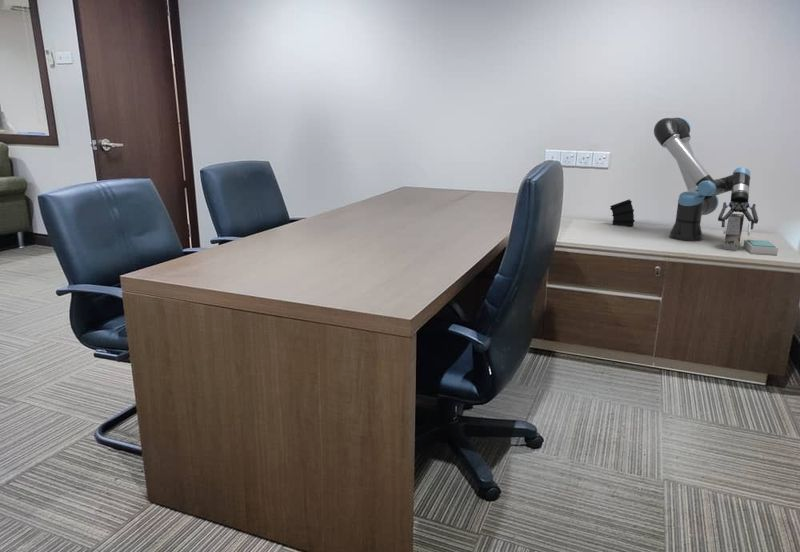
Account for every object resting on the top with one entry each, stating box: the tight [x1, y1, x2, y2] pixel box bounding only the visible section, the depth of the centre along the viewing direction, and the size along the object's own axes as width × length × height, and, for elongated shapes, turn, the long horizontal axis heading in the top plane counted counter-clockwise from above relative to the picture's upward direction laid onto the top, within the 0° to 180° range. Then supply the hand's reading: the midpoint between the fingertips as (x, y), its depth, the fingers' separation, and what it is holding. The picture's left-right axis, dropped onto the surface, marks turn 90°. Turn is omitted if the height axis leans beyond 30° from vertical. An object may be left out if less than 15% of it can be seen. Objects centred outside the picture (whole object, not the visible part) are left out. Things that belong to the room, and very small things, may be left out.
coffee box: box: [723, 213, 745, 251], centre depth 284 cm, size 9×6×16 cm
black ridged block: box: [610, 198, 635, 228], centre depth 336 cm, size 4×13×15 cm, turn 56°
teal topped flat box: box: [742, 239, 779, 256], centre depth 280 cm, size 11×14×4 cm
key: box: [747, 239, 777, 248], centre depth 280 cm, size 9×12×2 cm
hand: (736, 233), depth 281 cm, fingers open, 9 cm apart
